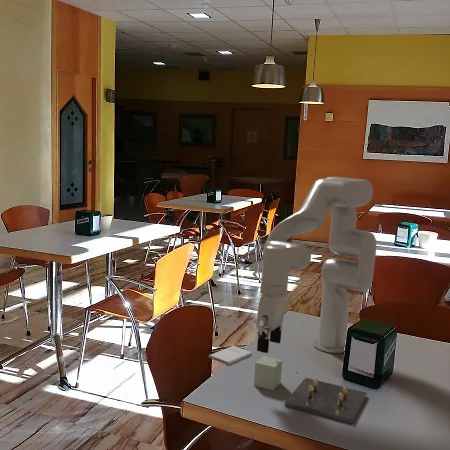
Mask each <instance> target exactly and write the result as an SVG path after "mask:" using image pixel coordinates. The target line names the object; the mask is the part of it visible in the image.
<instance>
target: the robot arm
mask: <svg viewBox="0 0 450 450" xmlns="http://www.w3.org/2000/svg"><path fill="white" fill-rule="evenodd" d="M373 194H374V188H373V184H372V183H371V181H369V180H367V179H365V178H352V177H346V176H328V177H325V178H319V179H317V180H316V181H314V183H313V184H312V185H311V187H310V190H309V191H308V192H307V194H306V197H305V199H304V200H303V202H302V204H301V205H300V207H299V209H298V210H297V212H295V213H293V214H291V215H290V216H288V217H287V218H285V219H283V220H281V221H280V222H279V223H278V224H277V225H275V226H274V228H273V229H272V230H271V232H270V234H269V235H268V237H267V239H266V240H265V242H264V246H263V248H262V269H261V280H260V298H259V303H258V309H257V316H256V322H255V323H256V324H255V326H256V328H257V344H256V345H257V347H256V351H257V352H258V353H259V352H260V353H265V354H268V353H269V349H270V342H271V343H275V344H280V343H281V341H282V340H281V339H282V329H283V325H282V324H283V322H284V318H285V317H284V315H285V297H287V295H288V287H289V286H288V283H289V274H290V271H301V270H304V269H306V268H307V267H308V266H309V264H310V263H311V259H312V253H311V250H310V249H309V248H308V247H307V246H306V245H304V244H299V243H294V242H289V241H287V240H288V239H290V238H292V237H294V236H297V235H301V234H304V233H309V232H312V231H316V230H318V229H320V228H322V227H323V225H324V223H325V222H326V220H327V217H328V215H329V213H330V215H331V216H330V217H331V218H330V227H329V238H328V248H329V251H330V252H331V253H333V254H334V255H338V256H345V257H348V258H354V259H356V260H357V261H356V260H350V259H344V258H339V257H332V258H328V259H326V260H324V262H323V263H322V266H321V270H320V271H321V272H320V274H321V275H320V276H321V284H322V285H321V286H322V287H321V288H322V293H321V304H320V314H319V315H320V317H319V326H318V327H319V328H318V329H319V330H318V338H315V339H314V341H313V346H314V347H315V348H316V349H318V350H319V351H323V352H327V353H329V354H330V353H332V354H343V352H344V347H345V340H346V341H347V335H346V333H347V332H348V322H349V313H350V299H351V298H350V296H349V294H348V291H347V289H348V290H352V291H358V292H366V291H368V290H369V289H370V288H371V286H372V283H373V278H374V272H375V263H376V255H377V239H376V236H375V235H374V234H373V233H372V232H370V231H368V230H362V229H357V218H358V215H357V210H356V208H359V207H365V206H366V205H368V204H369V203H370V202H371V201H372V198H373V196H374V195H373ZM347 334H348V333H347ZM344 353H345V352H344Z"/></svg>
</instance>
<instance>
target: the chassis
mask: <svg viewBox="0 0 450 450" xmlns="http://www.w3.org/2000/svg"><path fill="white" fill-rule="evenodd" d="M367 394H368V392H366V391H362V390H357V389H355V388H349V387H348V386H341V385H338V384H333V383H329V382H325V381H322V380H321V381H320V380H318V379H316V378H315V379H313V378H309V377H305V378H304V379H303V380H302V381H301V383H300V384H299V385H298V386H297V387H296V389H294V391H293V392H292V393H291V394H290V396H289V397H288V398H287V399H286V400H285V402H284V406H285V407H288V408H290V409H295V410H297V411H298V410H299V411H302V412H305V413H309V414H314V415H317V416H319V417H324V418H328V419H331V420H335V421H339V422H343V423H346V424H350V425H353V423H354V421H355V420H356V417H357V415H358V413H359V412H360V410H361V408H362V406H363V404H364V402H365V400H366V399H367V396H368V395H367Z"/></svg>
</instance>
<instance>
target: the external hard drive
mask: <svg viewBox="0 0 450 450" xmlns="http://www.w3.org/2000/svg"><path fill="white" fill-rule="evenodd" d="M250 356H253V352H252V351H250V350H247V349H243V348H241V347H238V346H235V345H232V346H229V347H227V348H225V349H221V350H218V351H217V352H214V353H212V354H209V355H208V359H210V360H211V359H212V360H214V361H217V362H219V363H221V364H225V365H227V366H230V365H232V364H235V363H236V362H237V363H238V362H239V361H242V360H243V359H246V358H249V357H250Z"/></svg>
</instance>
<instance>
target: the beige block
mask: <svg viewBox="0 0 450 450" xmlns="http://www.w3.org/2000/svg"><path fill="white" fill-rule="evenodd" d="M254 363H255V365H254V377H253V386H254V387H257V388H258V387H259V388H262V389H266V390H270V391H275V389H277V387H278V386H280V384H281V382H282V370H283V368H282V367H283V360H282V359H279V358H278V359H277V358H274V357H270V356H266V355H263V356H261V357H260V358H259V359H258V360H256V361H255V362H254Z"/></svg>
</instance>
